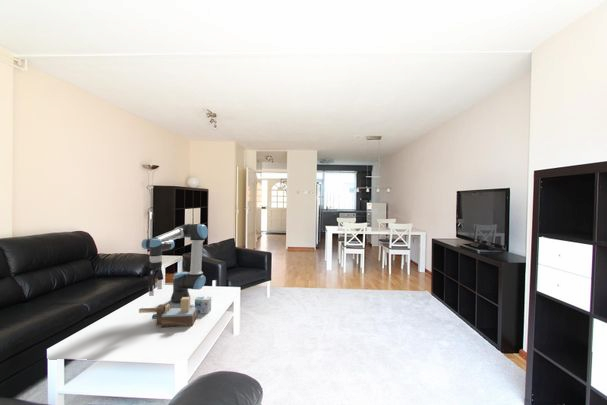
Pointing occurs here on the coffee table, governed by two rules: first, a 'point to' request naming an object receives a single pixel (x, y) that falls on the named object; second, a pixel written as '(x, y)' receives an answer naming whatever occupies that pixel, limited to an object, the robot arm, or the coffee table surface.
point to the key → (147, 310)
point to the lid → (179, 309)
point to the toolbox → (173, 319)
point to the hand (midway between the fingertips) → (155, 292)
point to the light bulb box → (203, 304)
